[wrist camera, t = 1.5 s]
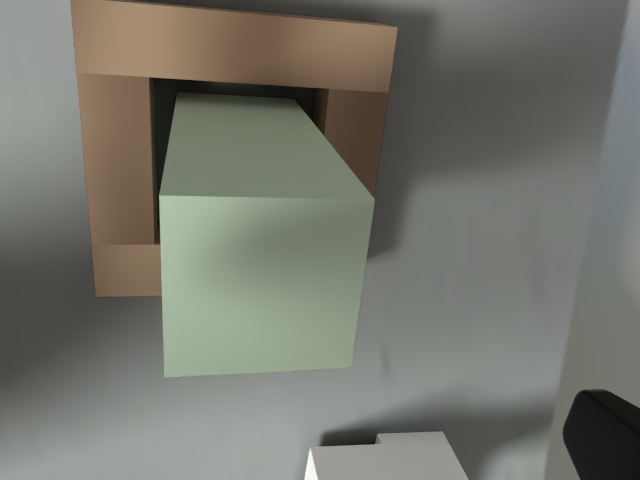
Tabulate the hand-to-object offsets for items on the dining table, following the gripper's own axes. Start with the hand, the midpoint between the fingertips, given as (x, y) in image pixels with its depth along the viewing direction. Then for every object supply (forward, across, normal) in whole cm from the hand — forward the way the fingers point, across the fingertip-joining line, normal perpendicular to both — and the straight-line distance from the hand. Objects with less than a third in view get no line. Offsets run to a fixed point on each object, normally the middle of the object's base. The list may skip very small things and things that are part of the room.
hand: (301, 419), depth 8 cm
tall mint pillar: (+13, 0, 0) cm, 13 cm away
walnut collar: (+13, +1, 0) cm, 13 cm away
